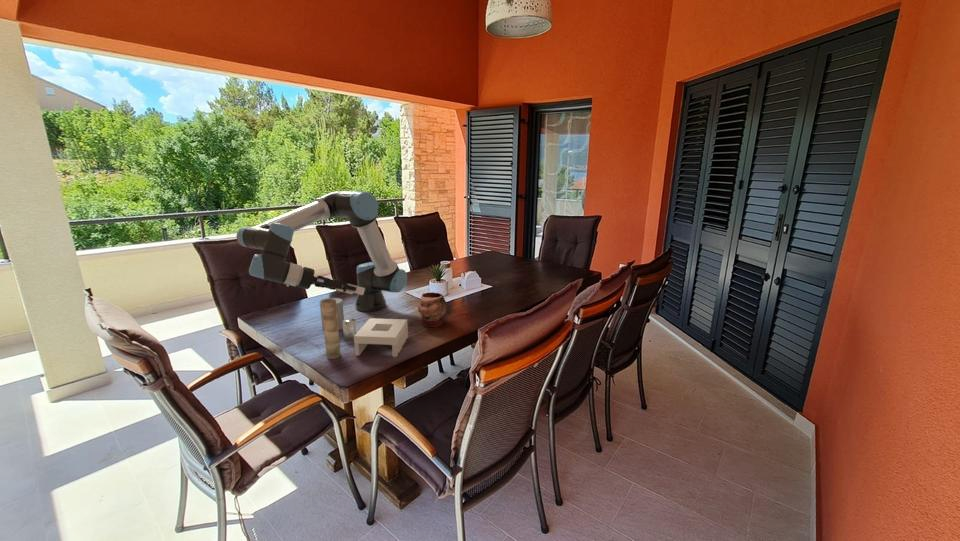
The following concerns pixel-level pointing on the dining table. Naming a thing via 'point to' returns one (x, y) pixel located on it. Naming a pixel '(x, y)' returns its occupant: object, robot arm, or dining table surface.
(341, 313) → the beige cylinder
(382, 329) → the miniature square stool
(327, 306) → the long pin
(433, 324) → the decorative planter
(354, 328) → the glass salt shaker
